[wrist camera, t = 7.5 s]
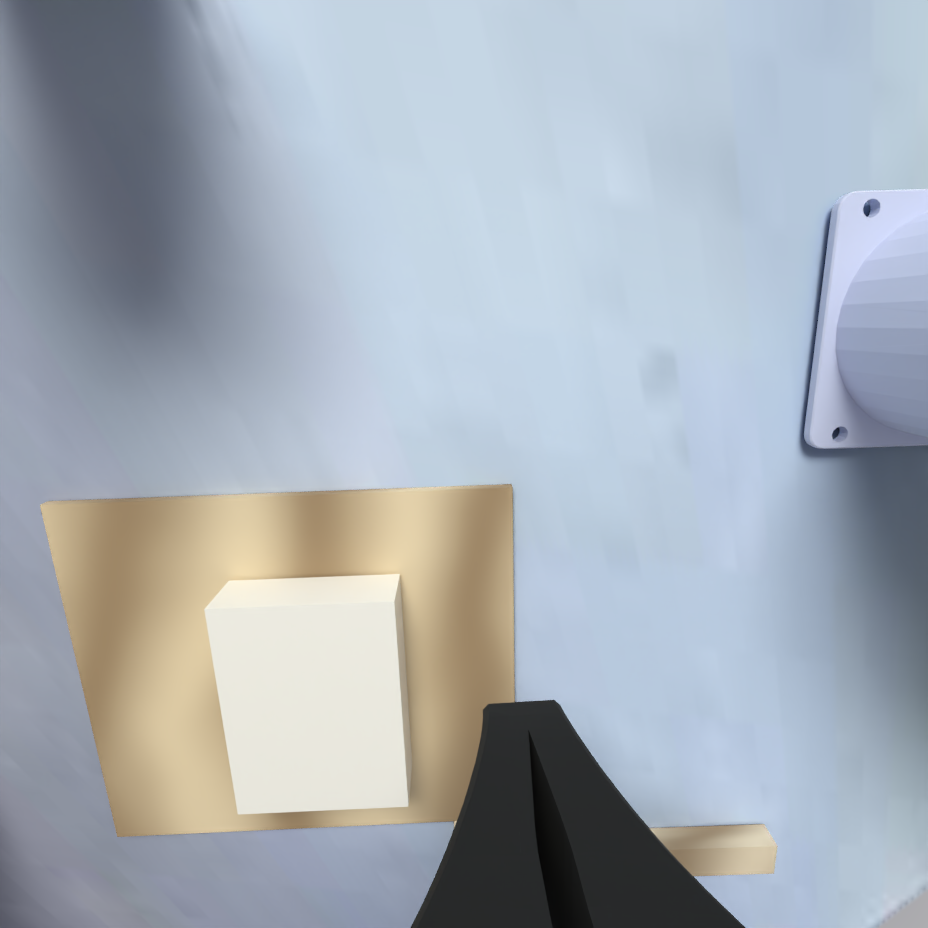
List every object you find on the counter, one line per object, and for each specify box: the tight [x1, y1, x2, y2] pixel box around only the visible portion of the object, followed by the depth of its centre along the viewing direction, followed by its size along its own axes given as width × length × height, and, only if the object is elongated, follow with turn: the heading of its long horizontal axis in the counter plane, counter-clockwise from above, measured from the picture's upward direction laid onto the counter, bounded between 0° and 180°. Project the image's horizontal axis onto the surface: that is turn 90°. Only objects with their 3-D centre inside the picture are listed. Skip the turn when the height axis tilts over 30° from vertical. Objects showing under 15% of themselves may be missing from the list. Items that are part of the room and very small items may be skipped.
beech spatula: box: [454, 821, 777, 876], centre depth 23 cm, size 13×4×1 cm, turn 92°
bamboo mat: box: [40, 484, 515, 837], centre depth 21 cm, size 16×14×1 cm
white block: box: [204, 574, 412, 814], centre depth 19 cm, size 2×8×6 cm
